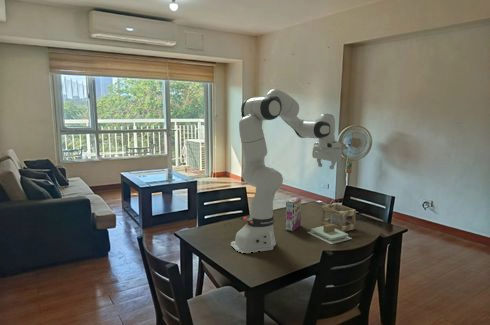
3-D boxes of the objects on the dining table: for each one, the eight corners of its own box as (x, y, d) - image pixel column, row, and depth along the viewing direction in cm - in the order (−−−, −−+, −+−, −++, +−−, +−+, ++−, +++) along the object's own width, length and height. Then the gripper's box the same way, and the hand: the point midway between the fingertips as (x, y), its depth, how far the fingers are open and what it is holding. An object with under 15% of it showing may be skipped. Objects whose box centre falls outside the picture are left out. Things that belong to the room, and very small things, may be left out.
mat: (330, 244, 164) (330, 243, 164) (307, 232, 179) (307, 232, 179) (351, 239, 170) (351, 238, 170) (327, 228, 186) (327, 227, 186)
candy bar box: (293, 231, 181) (293, 202, 179) (285, 230, 184) (285, 201, 181) (301, 225, 191) (301, 197, 188) (292, 224, 193) (293, 196, 191)
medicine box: (344, 225, 190) (344, 211, 189) (345, 228, 186) (346, 213, 184) (330, 225, 191) (330, 210, 190) (331, 228, 187) (331, 213, 185)
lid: (331, 242, 165) (331, 231, 164) (310, 232, 179) (310, 222, 178) (348, 237, 171) (348, 227, 170) (327, 228, 184) (327, 219, 183)
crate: (340, 232, 179) (341, 212, 178) (321, 224, 192) (321, 206, 191) (355, 229, 184) (355, 209, 183) (335, 221, 198) (336, 203, 196)
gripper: (309, 142, 193) (309, 165, 195) (335, 145, 175) (334, 171, 177) (318, 141, 196) (317, 164, 198) (344, 144, 178) (343, 170, 180)
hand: (325, 167), depth 187 cm, fingers open, 8 cm apart
